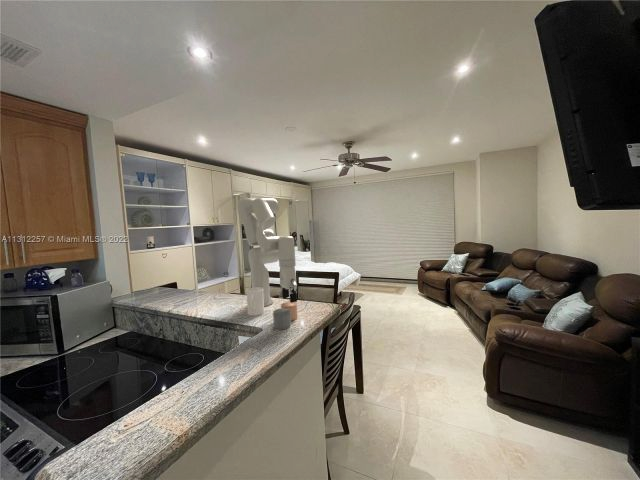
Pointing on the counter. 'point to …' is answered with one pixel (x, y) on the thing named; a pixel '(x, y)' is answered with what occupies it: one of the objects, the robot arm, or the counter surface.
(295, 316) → the cup terracotta
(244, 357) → the counter surface
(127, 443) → the counter surface
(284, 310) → the cup charcoal
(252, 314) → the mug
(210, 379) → the counter surface
